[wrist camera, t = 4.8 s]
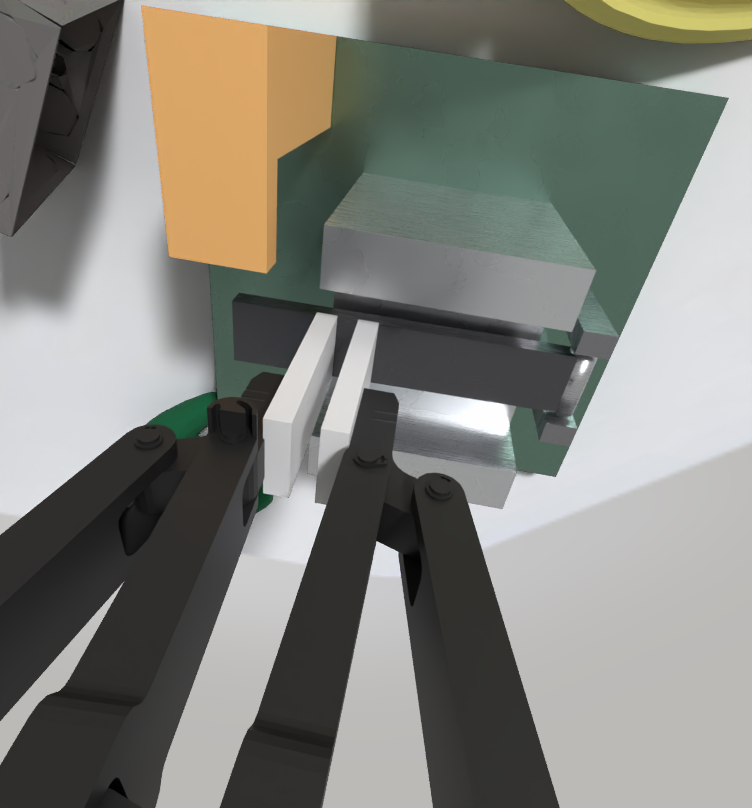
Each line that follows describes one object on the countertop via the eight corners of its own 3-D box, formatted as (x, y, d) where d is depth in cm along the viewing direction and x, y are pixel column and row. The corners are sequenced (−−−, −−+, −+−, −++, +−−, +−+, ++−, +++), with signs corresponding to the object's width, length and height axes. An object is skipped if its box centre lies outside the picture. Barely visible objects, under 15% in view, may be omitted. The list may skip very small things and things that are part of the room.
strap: (241, 350, 21) (233, 362, 20) (239, 290, 19) (231, 300, 18) (570, 404, 20) (575, 418, 20) (594, 347, 19) (601, 361, 18)
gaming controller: (199, 376, 33) (110, 427, 30) (219, 391, 30) (122, 448, 28) (259, 480, 37) (186, 530, 35) (281, 502, 35) (203, 558, 32)
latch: (258, 193, 22) (169, 256, 15) (256, 23, 19) (141, 5, 12) (325, 204, 22) (266, 273, 15) (336, 36, 19) (267, 25, 12)
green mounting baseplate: (228, 402, 31) (153, 517, 23) (208, 16, 20) (56, -9, 12) (551, 460, 31) (585, 597, 23) (711, 95, 20) (880, 121, 12)
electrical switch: (37, -102, 19) (-196, -172, 12) (170, -1, 21) (39, -6, 13) (-6, 129, 24) (-188, 183, 16) (104, 196, 25) (-18, 271, 18)
